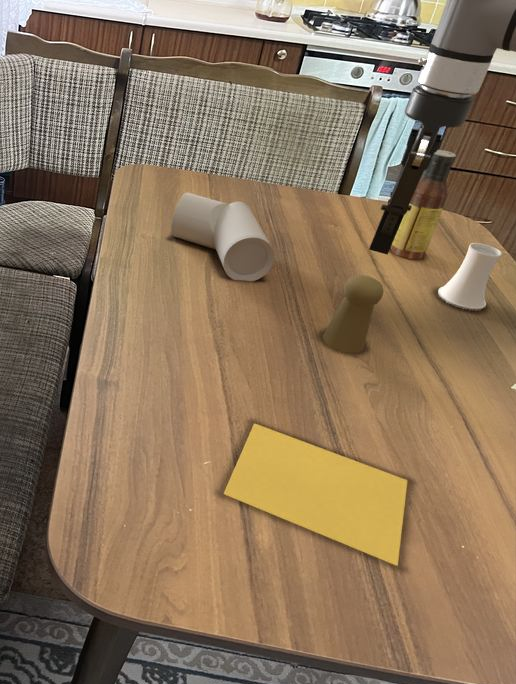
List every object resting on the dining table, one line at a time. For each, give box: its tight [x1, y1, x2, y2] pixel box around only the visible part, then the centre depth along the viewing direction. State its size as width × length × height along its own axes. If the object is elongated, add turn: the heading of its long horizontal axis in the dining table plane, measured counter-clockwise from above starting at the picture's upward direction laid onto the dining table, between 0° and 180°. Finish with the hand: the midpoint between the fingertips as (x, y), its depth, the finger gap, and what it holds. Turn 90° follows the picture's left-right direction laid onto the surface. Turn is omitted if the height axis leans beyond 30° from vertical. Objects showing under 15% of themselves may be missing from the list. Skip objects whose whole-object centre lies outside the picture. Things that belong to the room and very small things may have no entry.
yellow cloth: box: [223, 422, 408, 567], centre depth 77 cm, size 18×14×1 cm
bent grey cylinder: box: [170, 192, 275, 282], centre depth 121 cm, size 18×10×20 cm
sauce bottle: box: [390, 149, 457, 261], centre depth 127 cm, size 7×6×20 cm
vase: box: [437, 242, 503, 312], centre depth 115 cm, size 8×8×10 cm
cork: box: [322, 274, 385, 354], centre depth 100 cm, size 6×6×11 cm
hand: (378, 250), depth 104 cm, fingers closed
